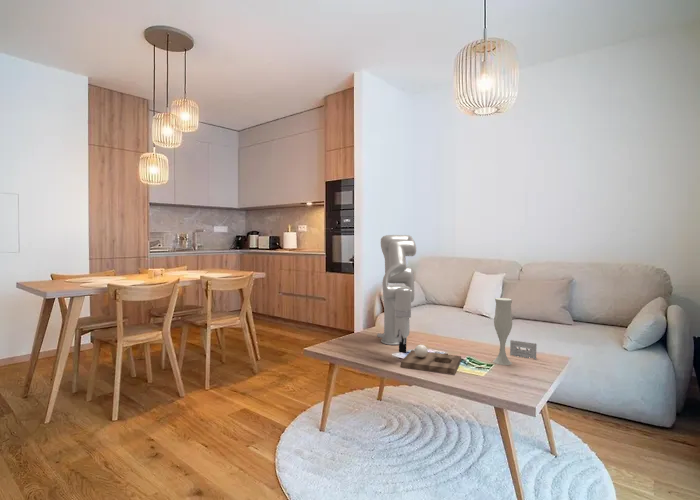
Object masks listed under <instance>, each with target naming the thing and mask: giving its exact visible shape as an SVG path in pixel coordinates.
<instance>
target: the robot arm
mask: <svg viewBox="0 0 700 500" xmlns="http://www.w3.org/2000/svg"><path fill="white" fill-rule="evenodd" d="M380 247H381V248H380V249H381V253H382V254H383V258H384V275H383V278H382V282H381V283H382V285H381V286H382V297H383V298H382V299H383V309H384V312H383V313H384V314H383V315H384V316H383V324H384V325H383V333H379V332H378V333H376V334H377V335H376V336H377V338H380V339H381V340H380V341H381V342H380V343H382V344H384V345H389V346H398V353H404V354H405V353H406V352H407V341H408V340H407V338H408V336H409V335H410V330H411V329H410V328H411V327H410V318H412V303H413V302H414V300H415V276H414V270H413V268H412V267H410V266H407V260H406V258H407V257H414V256H416V254H417V245H416V242H415V240H414V239H413V237H412V236H411V235H409V234H408V235H407V234H386V235H383V236H382V237H381V238H380ZM389 284H401V285H389ZM402 284H403V285H402Z"/></svg>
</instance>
